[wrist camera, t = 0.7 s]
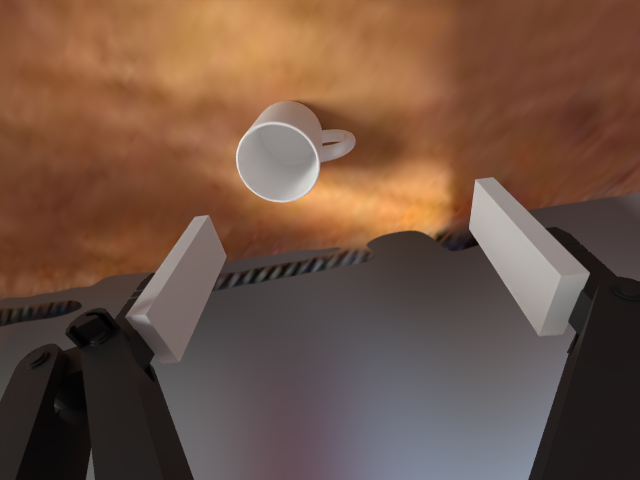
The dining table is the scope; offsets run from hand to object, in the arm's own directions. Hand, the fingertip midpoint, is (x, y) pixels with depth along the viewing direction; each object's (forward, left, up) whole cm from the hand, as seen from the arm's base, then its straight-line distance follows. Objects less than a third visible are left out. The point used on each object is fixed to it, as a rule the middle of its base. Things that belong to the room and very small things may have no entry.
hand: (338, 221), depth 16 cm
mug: (+1, -5, -26) cm, 27 cm away
